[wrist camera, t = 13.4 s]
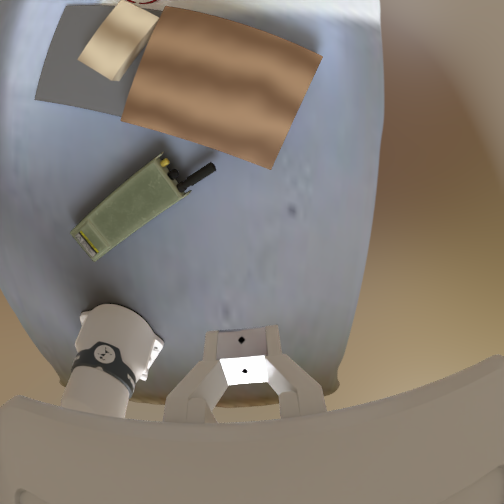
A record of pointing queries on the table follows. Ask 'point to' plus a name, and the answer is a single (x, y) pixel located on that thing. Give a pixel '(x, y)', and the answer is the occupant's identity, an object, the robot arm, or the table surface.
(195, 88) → the platform
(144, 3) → the digital clamp meter
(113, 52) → the tile
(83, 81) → the mat
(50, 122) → the table surface
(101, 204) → the handheld radio
